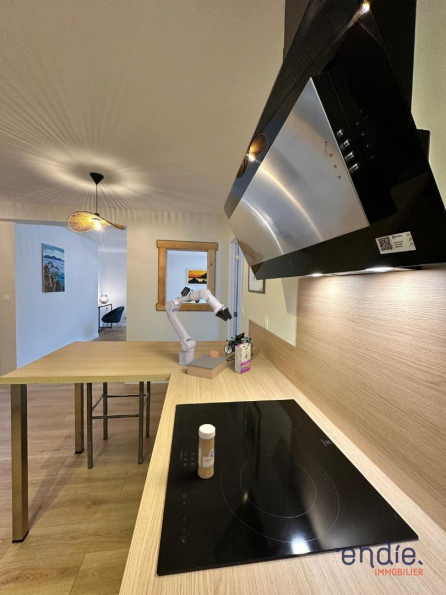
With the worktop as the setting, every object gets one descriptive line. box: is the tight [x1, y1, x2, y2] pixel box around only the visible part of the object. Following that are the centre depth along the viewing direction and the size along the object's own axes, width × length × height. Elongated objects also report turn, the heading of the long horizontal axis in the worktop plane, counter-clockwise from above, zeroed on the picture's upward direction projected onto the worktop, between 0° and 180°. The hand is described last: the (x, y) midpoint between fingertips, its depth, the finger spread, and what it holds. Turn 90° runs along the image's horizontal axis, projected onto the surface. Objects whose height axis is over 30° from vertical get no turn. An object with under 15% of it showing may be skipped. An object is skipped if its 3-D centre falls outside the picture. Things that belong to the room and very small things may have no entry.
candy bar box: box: [234, 342, 252, 375], centre depth 157 cm, size 11×5×16 cm, turn 143°
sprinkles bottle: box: [197, 423, 216, 479], centre depth 72 cm, size 5×5×14 cm
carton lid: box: [186, 350, 228, 369], centre depth 155 cm, size 17×23×4 cm
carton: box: [186, 358, 228, 380], centre depth 155 cm, size 16×22×6 cm
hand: (229, 319), depth 155 cm, fingers open, 7 cm apart
